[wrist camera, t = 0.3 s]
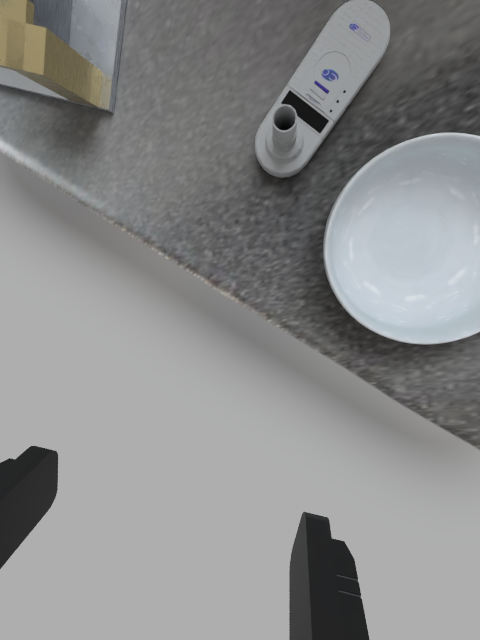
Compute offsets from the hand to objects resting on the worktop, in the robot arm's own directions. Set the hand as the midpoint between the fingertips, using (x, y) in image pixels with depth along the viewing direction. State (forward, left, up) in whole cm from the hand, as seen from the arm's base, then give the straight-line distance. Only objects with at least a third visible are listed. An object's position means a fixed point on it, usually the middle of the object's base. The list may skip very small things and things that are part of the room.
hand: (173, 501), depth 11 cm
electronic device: (-20, +1, -29) cm, 35 cm away
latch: (-17, -22, -28) cm, 39 cm away
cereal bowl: (-10, +13, -29) cm, 33 cm away
